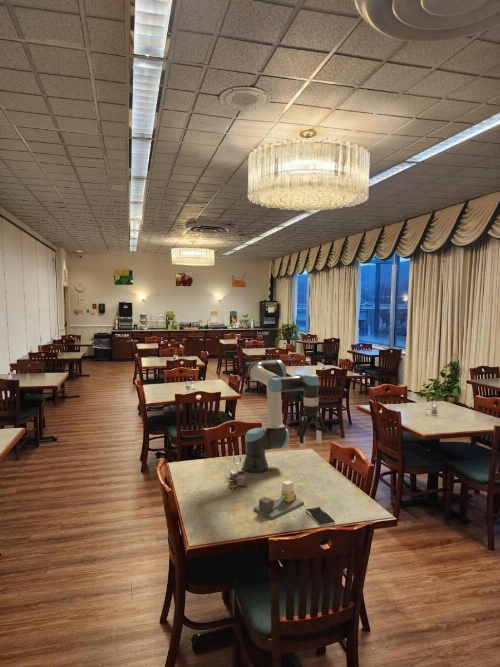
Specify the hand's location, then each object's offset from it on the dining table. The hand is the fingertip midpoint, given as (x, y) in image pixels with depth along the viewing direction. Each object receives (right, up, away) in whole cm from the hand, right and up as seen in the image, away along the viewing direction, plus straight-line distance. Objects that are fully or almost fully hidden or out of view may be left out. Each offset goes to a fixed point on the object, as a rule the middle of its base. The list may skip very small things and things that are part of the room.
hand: (310, 446), depth 210 cm
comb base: (-17, -26, -12) cm, 33 cm away
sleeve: (-13, -24, -8) cm, 28 cm away
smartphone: (+1, -27, -21) cm, 35 cm away
